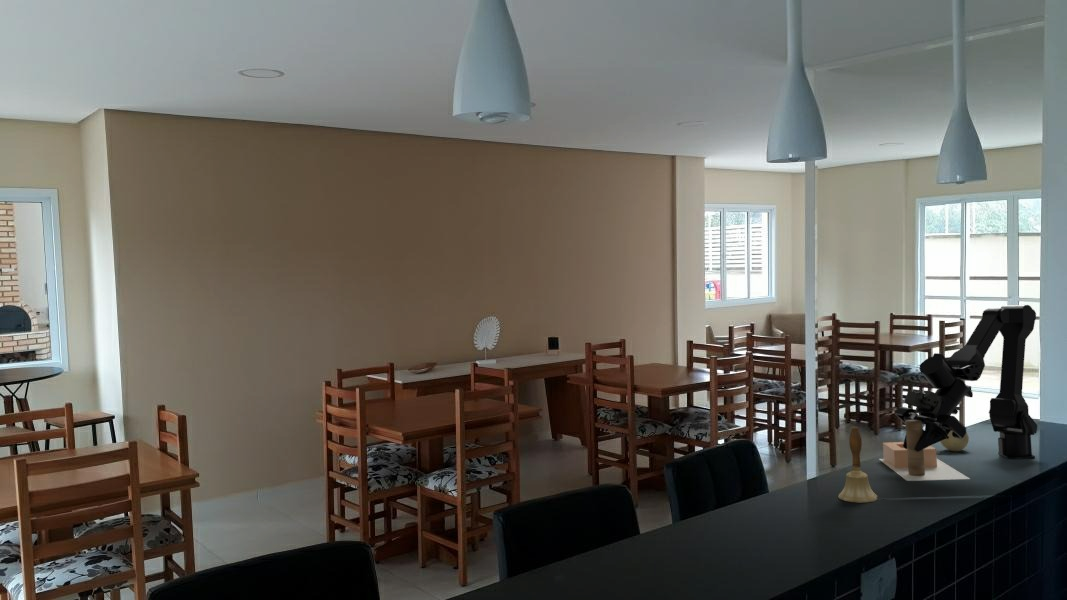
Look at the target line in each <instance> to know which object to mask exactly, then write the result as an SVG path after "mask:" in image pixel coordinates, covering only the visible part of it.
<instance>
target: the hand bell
mask: <svg viewBox="0 0 1067 600" xmlns="http://www.w3.org/2000/svg"><path fill="white" fill-rule="evenodd" d="M848 437H849V438H848V439H849V440H848V441H849V442H848V443H849V449H850V452H851V455H852V456H851V457H852V466H851V467H852V470H850V471H849V472H847V473H846V476H845V484H844V487H843V489H842V491H841V492H839V494H838V499H839V500H842V501H845V502H850V503H861V504H863V503H872V502H873V503H874V502H876V501H877V500H879V497H878V495H877V494H876V493H875V492H874V491H873V490H872V487H871V485H870V481H869V478H868V476H869V475H868V474H867V473H865V472H863V471H862V470H861V466H862V465H861V451H862V445H863V444H862V443H863V441H862V440H863V439H862V435H861V433H860V431H859V427H857V426H852V427H851V430H850V433H849V436H848Z"/></svg>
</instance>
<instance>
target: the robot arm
mask: <svg viewBox="0 0 1067 600" xmlns="http://www.w3.org/2000/svg"><path fill="white" fill-rule="evenodd" d="M981 316H982V317H981V319H980V320H979V322H978V324H977V325H976V327H975V328H974V330H973V332H972V334H971V335H970V336H969V337H968V340H967V341H966V343H965V344H964V345H963V347H962V348H960V349H958V350H957V351H955V352H954V353H953V354H952V355H951V356H950V357H949V358H948V359H946V357H945V355H944V354H943V353H938V352H937V353H936V352H935V353H933V355H932V356H931V357H928V358H926V359H925V360H923V361H921V363H920V365H919V371H920V373H921V374H922V375H923V377H925V378H926V380H927V381H928V382H929V384H930V385H932V387H933V388H935V389H936V391H935V392H933V391H928V390H927V391H925V393H923V392H919V391H915V390H914V391H913V390H908V391H907V393H906V396H905V399H904V404H906V405H910V406H913V407H916V408H915V410H914V409H913V408H911V407H910V408H909V407H905V406H901V407H898V408H897V409H896V411H895V412H894V416H896V417H897V418H898V419H899V420H900V421H901V422H902V423H903V424H904V425H905V426H906V423H905V421H906V420H921V421H922V436H921V437H920V439H919V441H918V442H917V444H916V446H915V448H914V450H915V451H916V452H919V451H921V450H923V449H925V448H927V447H929V446H932V445H934V444H937V443H939V442H940V441H942V440H944V439H949V436H948V434H949V432H950V431H953V432H952V436H953V437H954V438H958V439H963V438H964V436H965V435H966V432H967V427H966V426H965V425H964V424H963V423H962V422H961V421H960V420H959V419H958V418H957V417H955V416H954V415H957V414H958V413H959V410H958V409H956V408H958V406H959V404H960V403H961V402H962V400H963V399H964V397H967V398H973V395H974V394H973V390H972V385H967V384H966V383H965V381H969V382H970V381H971V382H975V381H979V379H980V378H981V376H982V374H983V371H984V369H985V367H986V364H985V360H984V359H985V356H986V354H987V352H988V351H989V350H990V347H991V346H992V344H993V343H994V340H995V339H996V337H997V335H998V334H999V333H1000V334H1001V336H1002V337H1003V341H1002V342H1003V343H1002V357H1001V369H1000V370H1001V371H1000V384H999V393H998V394H997V395H996V396H995V397H992V398H991V399H990V401H989V411H988V414H989V419H990V423H991V426H992V429H993V432H995V433H996V432H998V433H999V437H997V442H998V443H997V444H998V452H997V453H998V455H1000V456H1002V457H1005V459H1006V458H1007V459H1032V458H1033V459H1036V455H1034V454H1033V451H1032V449H1033V448H1032V436H1034V435H1035V434H1037V431H1038V424H1037V423H1036V422H1035V420H1034V419H1033V417H1031V415H1030V414H1029V412H1030V411H1029V405H1028V403H1027V402H1026V399H1025V398H1024V396H1023V382H1024V381H1023V380H1024V371H1025V370H1024V367H1025V354H1026V353H1025V352H1026V340H1027V339H1028V337H1029V336H1030V335H1031V334H1032V332H1033V331H1034V329H1035V322H1036V319H1037V313H1036V311H1035V309H1034V308H1033V307H1032V306H1031V305H1029V304H1017V305H1016V304H1004V305H1002V306H1000V308H999V307H998V308H997V307H996V308H994V307H993V308H986V309H985V310H983V311H982V314H981ZM917 412H918V413H917ZM919 413H920V414H919ZM923 428H924V429H923ZM903 440H904V441H903V442H904V444H903V447H904V448H905V449H907V440H906V435H905V436H904V439H903Z"/></svg>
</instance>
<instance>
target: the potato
mask: <svg viewBox="0 0 1067 600" xmlns="http://www.w3.org/2000/svg"><path fill="white" fill-rule="evenodd" d="M952 432H953V431H950V432H949V434H948V436H949V439H944V440H942V441H940V444H941V445H942V446H943V447H944V448H945V449H947V450H948V451H952V452H960V451H962V450H964V449H965V448H966V447H968V443H969V438H970V437H969V434H968V431H966V435H965V436H964V438H963V439H958V438H954V437H953V436H952Z"/></svg>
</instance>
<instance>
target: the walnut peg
mask: <svg viewBox="0 0 1067 600" xmlns="http://www.w3.org/2000/svg"><path fill="white" fill-rule="evenodd" d="M905 423H906V425H905V436H906V440H907V456H908V473H909V475H912V476H923V475H925V467H924V450H921V451H919V452H916V451H915V450H914V448H915V446H916V444H917V442H918V441H919V439H920V437H921V436H922V429H923V428H922V421H921V420H906V421H905Z"/></svg>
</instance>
